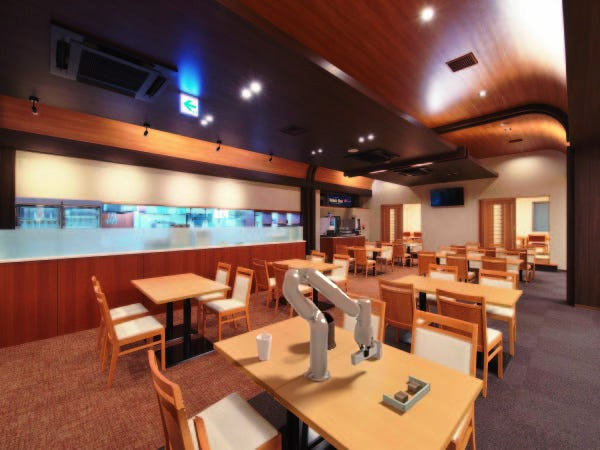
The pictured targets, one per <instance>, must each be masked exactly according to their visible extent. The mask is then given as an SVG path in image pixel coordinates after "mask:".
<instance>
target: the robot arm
mask: <svg viewBox="0 0 600 450" xmlns="http://www.w3.org/2000/svg"><path fill="white" fill-rule="evenodd" d="M302 283H303V284H304V283H308V284H309V285H310V286H311V287H313V288H314V289H315V290H316V291H318V292H319V293H320V294H321V295H322V296H323V297H326V299H327V300H328V301H330V302H331V303H332V304H334V305H335V306H336V307H337V308H338V309H339V310H341V311H342V312H343V313H345V314H346V315H347V316H349V317H351V318H355V320H356V323H355V327H354V333H353V334H354V336H353V337H354V338H353V339H354V342H355V343H356V344H357V345H358V348H359V350H360V349H362V348H364V347H365V350H364V351H365V358H366V357H368V356H369V349H370V348H374V347H375V345H374V340H375V336H374V329H373V325H372V300H370V299H368V298H353V297H349V296H347V294H345V292H343V291H342V290H341V289H340V287H338V285H337V284H335V283H334V282H332V280H331V279H329V278H328V277H327V276H326V275H324V274H323V273H321V272H320V271H319V270H318V269H317V268H316V267H313V266H312V267H311V266H309V267H298V268H297V267H296V268H289V269H288V270H287V271H286V272H285V274H284V280H283V283H282V294H283V296H284V298H285V300H286V301H288V303H289V304H290V305H291V307H292V308H293V309H294V311H295V312H296V313H297V314H298V316H299V317H300V318H301V319H303V320H305V321H307V323H308V325H309V329H310V331H309V344H310V345H309V367H307V370H306V371H305V372H303V373H302V375H303V377H304V378H306V377H307V378H308V379H310V380H311V381H314V382H324V381H327V380H329V379H330V377H331V372H330V370H328V351H327V339H328V324H327V321H326V319H325V317H324V315H323V314H322V313H321V310H320V309H319V308H318V307H317V306H316V304H315V303H314V302H313V301H312V300H311V299H310V298H308V297H306V296H305V295H304V294H303V292H302V291H300V289H299V286H300V284H302ZM370 344H371V345H370Z"/></svg>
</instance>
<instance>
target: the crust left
mask: <svg viewBox="0 0 600 450" xmlns="http://www.w3.org/2000/svg"><path fill="white" fill-rule="evenodd" d="M393 398H394V399H395V400H397V401H399V402H401V403H403V404H405V403H406V402H407V401H408V400H409V394H408V393H406V392H404V391H402V390H399V391H398V392H396V393H394V396H393Z"/></svg>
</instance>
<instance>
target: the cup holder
mask: <svg viewBox="0 0 600 450" xmlns="http://www.w3.org/2000/svg"><path fill="white" fill-rule="evenodd" d="M320 311H321V310H320ZM321 313H322V314H323V315H324V317H325V319H326V321H327V324H328V339H327V350H329V351H332V350H331V349H333V350H335V349H336V348H337V346H336V345H337V343H336V340H335V339H336V333H335V332H336V328H335V327H336V326H335V325H336V321H335V320H336V319H335V317H334V316H333V315H332V313H330V312H328V311H325V310H322V311H321ZM335 347H336V348H335ZM334 348H335V349H334Z"/></svg>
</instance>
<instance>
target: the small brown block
mask: <svg viewBox="0 0 600 450" xmlns="http://www.w3.org/2000/svg"><path fill="white" fill-rule="evenodd" d="M421 389H422V387H421V385H420V384H418V383H416V382H414V381H412V382H409V383H407V391H408V392H410V393H412V394H414V395H415V394H417V393H418V392H419V391H420V390H421Z"/></svg>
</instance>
